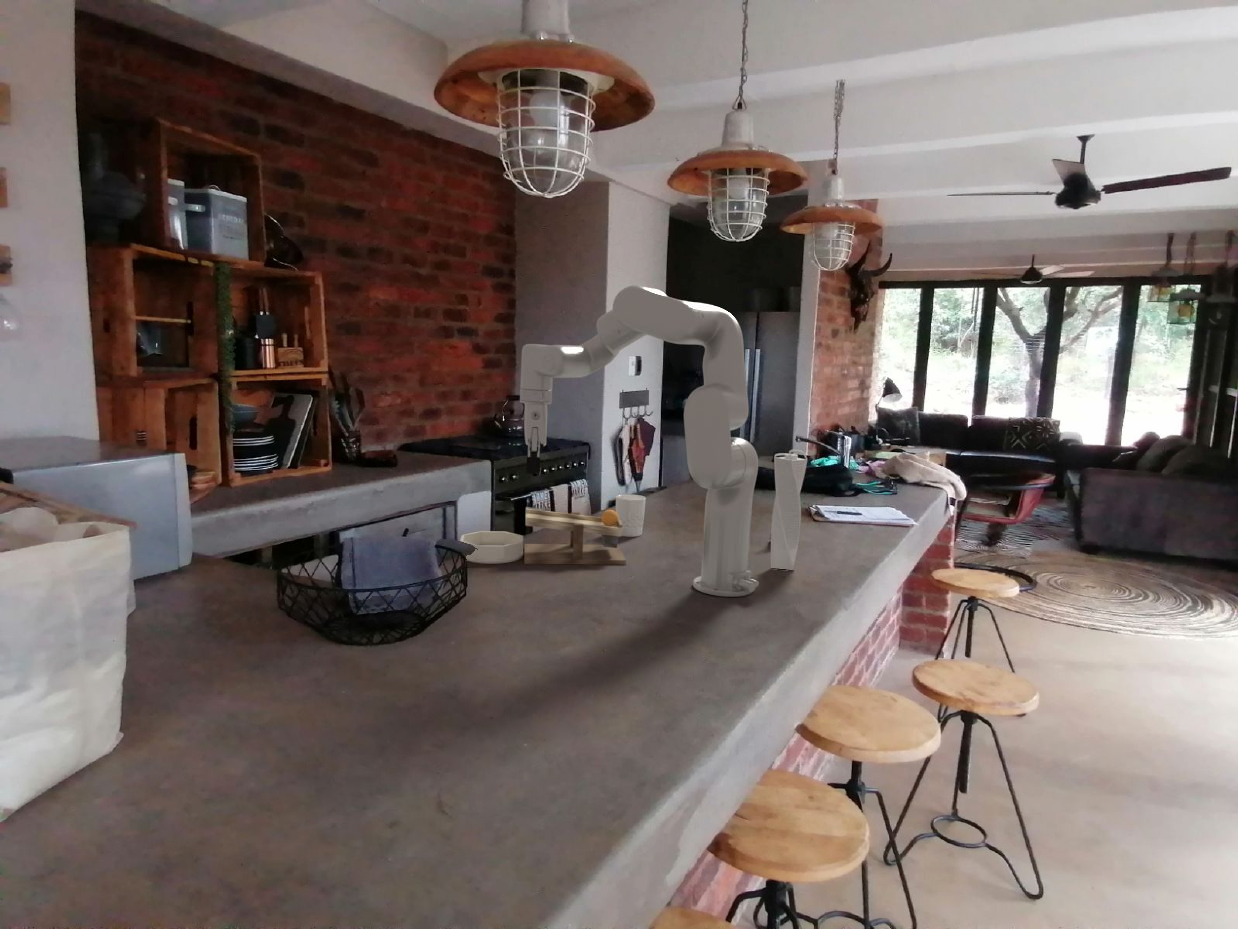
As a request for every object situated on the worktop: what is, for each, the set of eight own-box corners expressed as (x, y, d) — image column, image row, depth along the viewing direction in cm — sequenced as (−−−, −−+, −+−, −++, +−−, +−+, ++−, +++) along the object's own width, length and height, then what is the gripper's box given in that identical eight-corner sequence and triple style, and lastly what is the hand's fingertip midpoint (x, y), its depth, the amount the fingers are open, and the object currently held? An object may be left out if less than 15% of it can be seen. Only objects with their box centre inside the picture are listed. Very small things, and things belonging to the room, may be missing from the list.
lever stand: (618, 548, 194) (620, 512, 193) (625, 564, 181) (627, 525, 179) (524, 547, 192) (525, 511, 190) (524, 563, 178) (525, 524, 176)
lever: (611, 533, 198) (615, 511, 197) (619, 549, 182) (623, 525, 181) (523, 522, 195) (526, 500, 194) (523, 538, 179) (527, 514, 178)
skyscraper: (799, 573, 179) (809, 450, 175) (766, 570, 181) (774, 448, 177) (798, 564, 187) (807, 446, 183) (766, 561, 188) (775, 444, 184)
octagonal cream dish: (523, 547, 192) (523, 531, 191) (523, 563, 178) (523, 546, 177) (462, 547, 190) (462, 530, 189) (457, 563, 176) (457, 545, 175)
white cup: (641, 538, 206) (642, 500, 204) (611, 536, 207) (613, 498, 206) (646, 532, 214) (648, 495, 212) (617, 529, 215) (619, 493, 214)
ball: (617, 530, 186) (624, 514, 185) (605, 527, 183) (611, 511, 183) (608, 524, 189) (614, 509, 188) (595, 521, 186) (601, 505, 186)
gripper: (553, 400, 181) (549, 479, 183) (550, 395, 195) (547, 468, 198) (519, 398, 180) (516, 478, 183) (520, 393, 194) (517, 467, 197)
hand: (532, 473), depth 190 cm, fingers closed
